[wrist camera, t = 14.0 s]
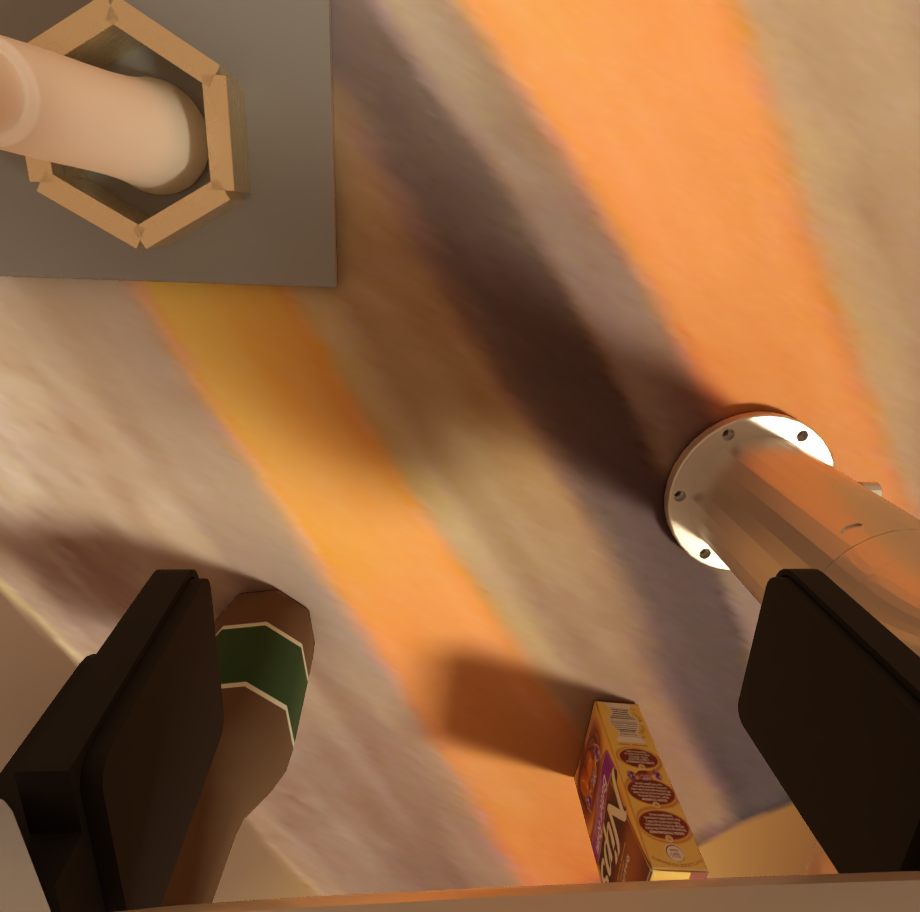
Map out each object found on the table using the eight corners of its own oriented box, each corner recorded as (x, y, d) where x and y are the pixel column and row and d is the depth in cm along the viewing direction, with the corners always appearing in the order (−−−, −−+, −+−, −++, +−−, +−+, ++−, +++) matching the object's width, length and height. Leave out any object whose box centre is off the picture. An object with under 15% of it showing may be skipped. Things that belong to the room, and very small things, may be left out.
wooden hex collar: (240, 23, 35) (220, 2, 32) (255, 248, 40) (239, 252, 36) (39, 10, 35) (-5, -14, 31) (76, 241, 39) (41, 245, 35)
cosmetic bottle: (232, 141, 37) (18, 57, 17) (165, 217, 39) (-112, 226, 18) (146, 51, 36) (-214, -165, 15) (77, 134, 37) (-343, 38, 16)
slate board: (330, -11, 36) (328, -17, 35) (337, 285, 42) (335, 287, 41) (-53, -39, 34) (-66, -46, 33) (8, 274, 40) (-2, 276, 39)
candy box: (589, 698, 55) (652, 869, 41) (638, 701, 56) (717, 871, 41) (568, 778, 58) (620, 963, 44) (615, 780, 59) (681, 964, 44)
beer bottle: (194, 611, 49) (16, 946, 27) (284, 568, 49) (176, 875, 26) (251, 684, 52) (132, 1042, 30) (336, 644, 51) (280, 981, 29)
